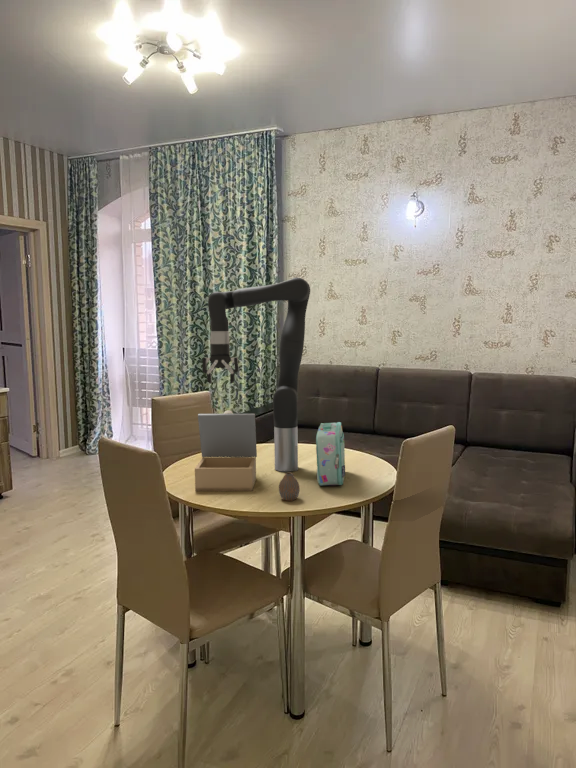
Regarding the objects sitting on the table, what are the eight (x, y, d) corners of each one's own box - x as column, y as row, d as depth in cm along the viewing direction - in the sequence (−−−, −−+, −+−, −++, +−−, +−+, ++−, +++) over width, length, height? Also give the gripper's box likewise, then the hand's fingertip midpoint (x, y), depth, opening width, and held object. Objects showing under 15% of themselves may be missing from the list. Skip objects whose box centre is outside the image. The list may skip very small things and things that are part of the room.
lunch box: (345, 490, 196) (345, 430, 193) (315, 490, 196) (315, 429, 194) (344, 470, 222) (344, 416, 220) (318, 469, 223) (318, 416, 220)
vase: (276, 496, 189) (276, 471, 188) (296, 495, 191) (296, 470, 190) (281, 503, 183) (281, 476, 182) (301, 501, 184) (301, 475, 183)
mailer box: (256, 478, 212) (255, 457, 211) (252, 490, 196) (252, 468, 195) (203, 478, 212) (202, 457, 211) (195, 490, 196) (194, 468, 196)
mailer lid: (256, 457, 211) (257, 447, 217) (254, 414, 203) (256, 405, 209) (201, 457, 211) (204, 447, 218) (197, 415, 204) (200, 406, 210)
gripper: (238, 342, 227) (239, 382, 229) (203, 342, 227) (204, 382, 229) (236, 342, 220) (237, 384, 221) (200, 343, 220) (201, 384, 222)
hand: (220, 383), depth 225 cm, fingers open, 8 cm apart
